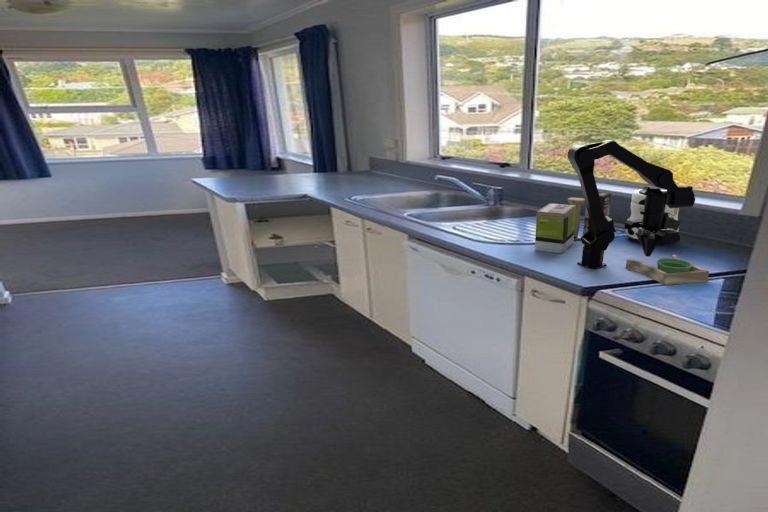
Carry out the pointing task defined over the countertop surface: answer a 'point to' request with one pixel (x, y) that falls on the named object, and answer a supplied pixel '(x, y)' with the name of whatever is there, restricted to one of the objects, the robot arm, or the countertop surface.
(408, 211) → the countertop surface
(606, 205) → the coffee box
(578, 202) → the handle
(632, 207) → the milk container
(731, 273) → the countertop surface
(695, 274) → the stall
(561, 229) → the tea box
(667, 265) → the ramekin
